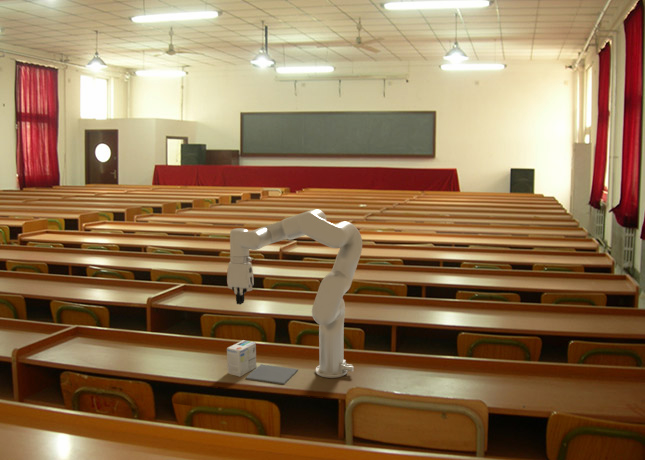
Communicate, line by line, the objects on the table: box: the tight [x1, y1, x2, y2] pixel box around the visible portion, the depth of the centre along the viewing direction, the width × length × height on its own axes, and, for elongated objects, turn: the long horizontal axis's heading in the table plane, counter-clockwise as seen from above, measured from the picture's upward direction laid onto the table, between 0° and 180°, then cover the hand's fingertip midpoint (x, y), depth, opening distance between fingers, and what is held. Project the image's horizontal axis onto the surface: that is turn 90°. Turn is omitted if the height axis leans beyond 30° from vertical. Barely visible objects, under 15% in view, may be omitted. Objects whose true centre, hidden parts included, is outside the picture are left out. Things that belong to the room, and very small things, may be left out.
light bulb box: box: [226, 339, 257, 378], centre depth 245 cm, size 11×7×11 cm, turn 149°
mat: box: [245, 363, 299, 385], centre depth 242 cm, size 16×14×1 cm
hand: (240, 303), depth 252 cm, fingers closed
